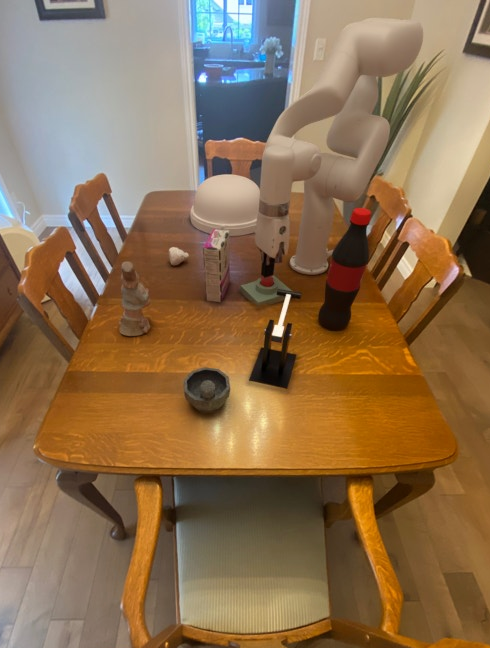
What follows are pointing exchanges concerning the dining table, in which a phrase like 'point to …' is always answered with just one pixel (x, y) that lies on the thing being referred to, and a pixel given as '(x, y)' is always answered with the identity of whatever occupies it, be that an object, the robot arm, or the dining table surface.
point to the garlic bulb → (177, 256)
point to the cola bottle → (346, 273)
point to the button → (267, 281)
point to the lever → (283, 314)
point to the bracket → (274, 360)
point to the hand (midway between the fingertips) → (267, 275)
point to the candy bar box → (216, 265)
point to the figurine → (133, 302)
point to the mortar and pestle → (206, 389)
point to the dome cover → (226, 205)
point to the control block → (263, 292)
